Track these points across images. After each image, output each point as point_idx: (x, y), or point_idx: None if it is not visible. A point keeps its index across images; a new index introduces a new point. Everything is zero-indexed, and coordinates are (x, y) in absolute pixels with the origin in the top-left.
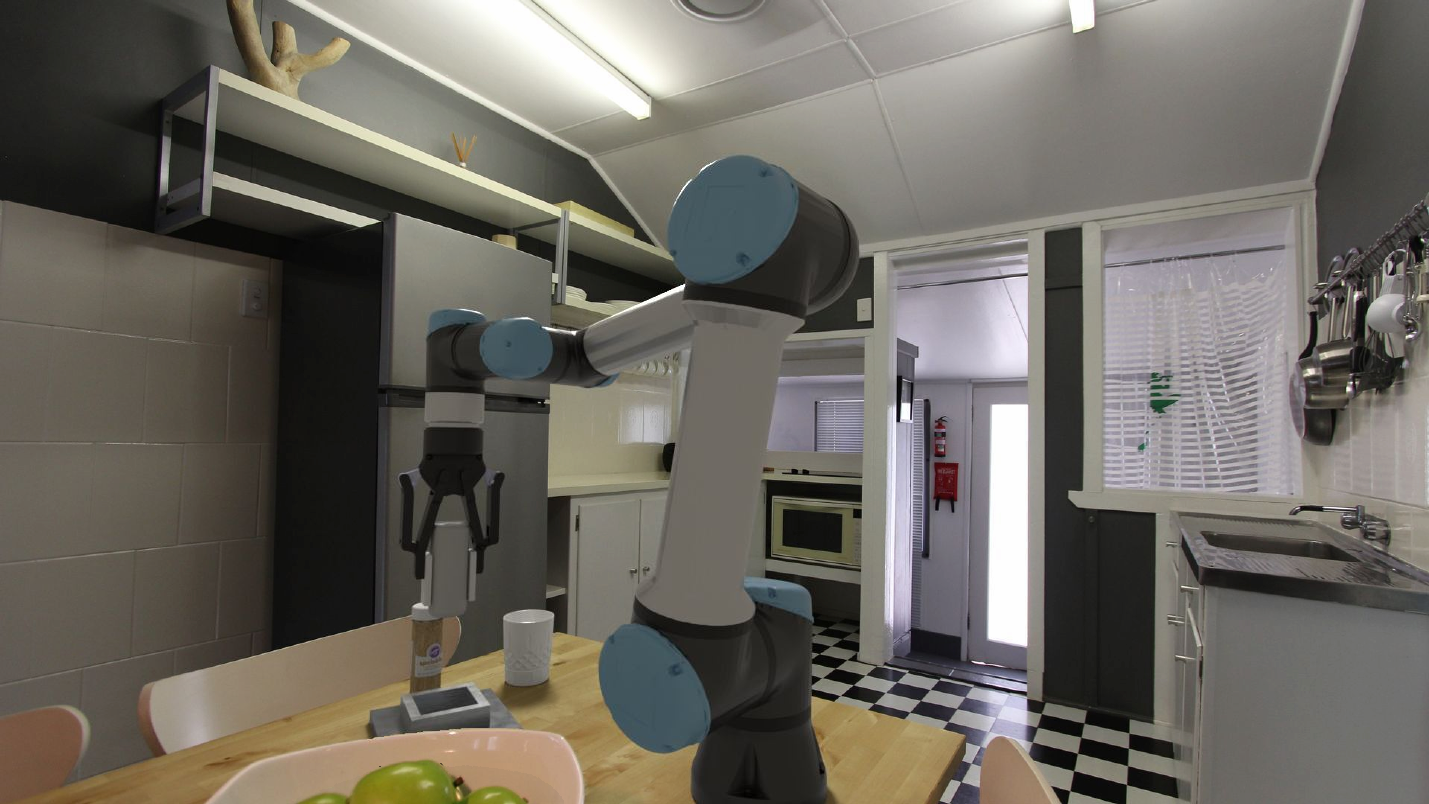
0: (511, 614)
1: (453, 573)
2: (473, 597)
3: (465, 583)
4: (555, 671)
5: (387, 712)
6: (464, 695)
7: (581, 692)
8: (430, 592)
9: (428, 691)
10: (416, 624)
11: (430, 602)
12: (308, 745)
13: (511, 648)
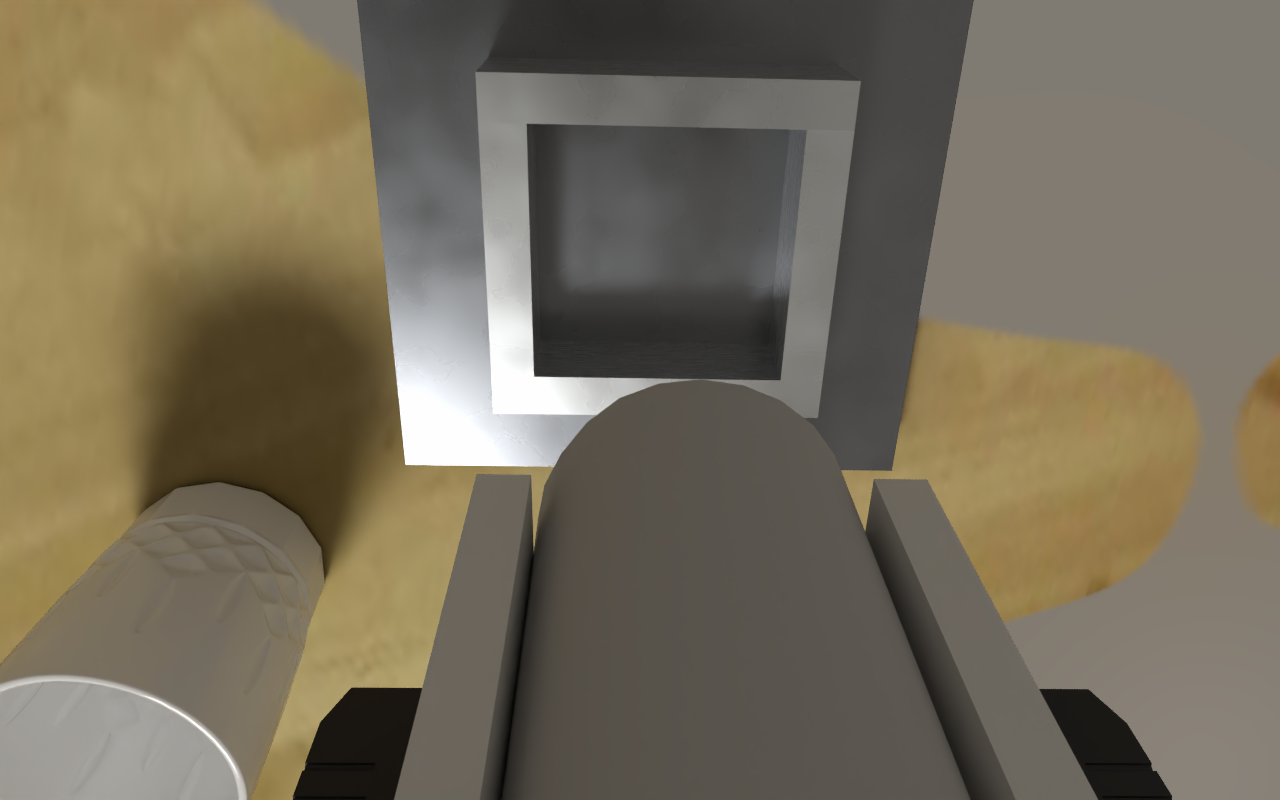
0: None
1: (732, 615)
2: (487, 493)
3: (560, 586)
4: None
5: (840, 419)
6: (544, 359)
7: (5, 313)
8: (912, 550)
9: None
10: None
11: (882, 496)
12: (1110, 353)
13: (257, 626)
